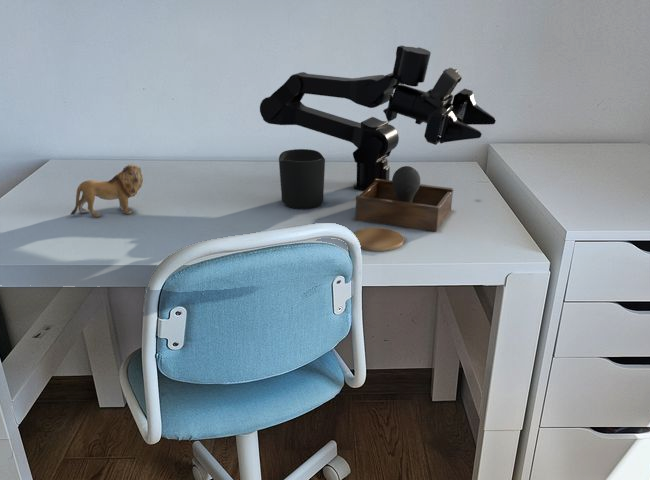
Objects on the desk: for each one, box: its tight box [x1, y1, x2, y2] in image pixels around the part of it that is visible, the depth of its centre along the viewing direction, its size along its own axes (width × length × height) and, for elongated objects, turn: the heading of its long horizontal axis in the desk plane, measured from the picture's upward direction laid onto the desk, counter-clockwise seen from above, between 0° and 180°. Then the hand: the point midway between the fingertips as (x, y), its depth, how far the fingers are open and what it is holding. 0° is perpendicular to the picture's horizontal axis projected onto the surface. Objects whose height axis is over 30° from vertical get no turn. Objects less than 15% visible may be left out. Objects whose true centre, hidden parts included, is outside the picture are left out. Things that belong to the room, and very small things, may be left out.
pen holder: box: [278, 148, 326, 210], centre depth 145 cm, size 9×9×10 cm
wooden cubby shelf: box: [355, 179, 454, 232], centre depth 141 cm, size 17×13×5 cm
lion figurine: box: [70, 164, 144, 218], centre depth 137 cm, size 15×5×9 cm, turn 116°
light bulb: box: [391, 165, 421, 203], centre depth 139 cm, size 6×6×10 cm
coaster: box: [352, 227, 405, 252], centre depth 130 cm, size 10×10×1 cm
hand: (488, 128), depth 140 cm, fingers open, 9 cm apart
